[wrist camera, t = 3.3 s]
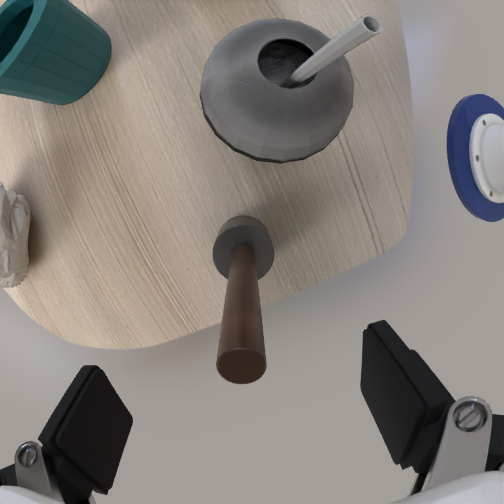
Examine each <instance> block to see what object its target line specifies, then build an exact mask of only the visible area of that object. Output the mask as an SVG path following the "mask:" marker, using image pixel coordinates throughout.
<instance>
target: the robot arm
mask: <svg viewBox="0 0 504 504" xmlns="http://www.w3.org/2000/svg"><path fill="white" fill-rule="evenodd" d="M469 156H470V164H471V170H472V173H473V177H474V180H475V182H476V185H477V187H478V189H479V190H480V192H481V193H482V194H483V196H484V197H485V198H486V199H488V200H489V201H492V202H496V203H503V202H504V120H503V119H502V118H500V117H499V116H497V115H495V114H483V115H481V116H479V117H478V118H477V120H476V121H475V122H474V125H473V127H472V130H471V134H470V141H469ZM360 386H361V391H362V394H363V396H364V399H365V401H366V403H367V405H368V407H369V409H370V411H371V413H372V415H373V418H374V419H375V422H376V424H377V426H378V428H379V431H380V433H381V435H382V437H383V439H384V442H385V444H386V446H387V448H388V450H389V453H390V455H391V457H392V459H393V462H394V463H395V464H396V465H397V464H400V465H401V467H402V469H405V468H408V467H410V466H412V467H413V469H414V471H415V472H416V473H417V475H416V477H415V480H414V482H413V485H412V487H411V490H410V492H409V494H408V496H407V498H404V499H401V500H399V501H396V502H393V503H391V504H504V415H496V414H492V410H491V408H490V406H489V404H488V403H486V401H485V400H483V399H481V398H478V397H474V396H470V397H464V398H461V399H459V400H458V401H455V400H454V399H453V397H452V396H451V394H450V393H449V392H448V390H447V389H446V388H445V387H444V385H443V384H442V383H441V382H440V380H439V379H438V378H437V377H436V375H435V374H434V373H433V372H432V370H431V369H430V368H429V366H428V365H427V364H426V363H425V361H424V360H423V359H422V358H421V357H420V355H419V354H418V353H417V352H416V351H415V350H410V349H409V348H408V347H407V346H406V345H405V343H404V342H403V341H402V340H401V338H400V337H399V336H398V335H397V334H396V332H395V331H394V330H393V329H392V328H391V326H390V325H389V324H388V323H387V322H386V321H385V320H382V321H378V322H375V323H371V324H369V325H368V327H367V329H366V330H364V331H363V348H362V369H361V385H360ZM132 423H133V418H132V416H131V414H130V412H129V411H128V410H127V408H126V407H125V405H124V403H123V402H122V400H121V399H120V397H119V396H118V394H117V393H116V391H115V389H114V388H113V386H112V385H111V383H110V381H109V380H108V378H107V376H106V374H105V373H104V371H103V370H102V369H100V368H99V367H98V366H96V365H85V366H83V367H82V368H81V369H80V371H79V373H78V374H77V375H76V377H75V378H74V380H73V382H72V383H71V385H70V386H69V388H68V389H67V391H66V392H65V394H64V396H63V397H62V399H61V401H60V402H59V404H58V405H57V407H56V409H55V410H54V412H53V413H52V415H51V417H50V419H49V420H48V422H47V424H46V425H45V427H44V429H43V431H42V433H41V434H40V436H39V438H38V440H39V441H40V442H41V443H42V444H43V446H42V447H41V446H40V445H39V444H38V443H36V442H33V441H29V442H26V443H24V444H22V445H21V446H20V447H19V448H18V449H17V451H16V454H15V463H14V464H12V465H10V466H8V467H5V468H3V469H1V470H0V504H96V502H95V500H94V498H93V496H92V494H91V493H92V490H94V491H95V492H97V493H100V494H105V495H107V494H108V490H109V489H111V488H112V485H113V482H114V478H115V476H116V472H117V469H118V466H119V463H120V459H121V456H122V453H123V450H124V447H125V444H126V441H127V438H128V435H129V433H130V430H131V427H132Z"/></svg>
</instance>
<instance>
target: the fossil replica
mask: <svg viewBox="0 0 504 504" xmlns="http://www.w3.org/2000/svg"><path fill="white" fill-rule="evenodd" d="M29 224H30V208H29V205H28V202H27V200H26V199H25V197H23V196H22V195H16V193H15V192H13V191H11V190H10V191H7V190H6V191H5V188H4V186H3V184H2V182H0V286H1V287H2V288H4V287H6V288H9V287H12V288H13V287H14V286H16V287H17V285H18V284H20V282H22V281H24V278H25V277H26V274H27V273H28V262H29V256H28V244H27V243H28V236H29V233H28V232H29V231H28V230H29Z"/></svg>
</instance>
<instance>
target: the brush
mask: <svg viewBox="0 0 504 504" xmlns="http://www.w3.org/2000/svg"><path fill="white" fill-rule="evenodd" d="M273 260H274V248H273V245H272V242H271V239H270V236H269V233H268V231H267V229H266V227H265V226H264V225H263V224H262V223H261V222H260V221H259V220H257V219H255V218H253V217H249V216H238V217H235V218H232V219H230V220H229V221H227V222H226V223H225V224H224V225H223V226H222V228H221V229H220V231H219V234H218V236H217V239H216V241H215V244H214V247H213V261H214V264H215V266H216V268H217V270H218V271H219V272H220V274H221V275H223V276H224V277H225V278H227V279H228V283H227V290H226V297H225V304H224V311H223V318H222V326H221V333H220V341H219V348H218V355H217V363H216V366H217V370H218V372H219V374H220V375H221V376H222V377H223V378H224V379H225V380H227V381H229V382H232V383H236V384H248V383H252V382H254V381H256V380H258V379H259V378H261V377H262V375H263V374H264V372H265V370H266V355H265V346H264V336H263V326H262V318H261V307H260V298H259V288H258V280H259V279H260V278H262V277H263V276H264V275H265V274H266V273H267V272H268V271H269V269H270V268H271V266H272V263H273Z"/></svg>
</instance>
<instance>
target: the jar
mask: <svg viewBox="0 0 504 504" xmlns="http://www.w3.org/2000/svg"><path fill="white" fill-rule="evenodd" d="M110 54H111V41H110V38H109V36H108V34H107V33H106V32H105V31H104V30H103V29H102V28H101V27H100V26H99V25H98V24H96V23H95V22H94V21H93V20H92V19H90V18H89V17H88V16H87V15H85V14H84V13H83V12H82V11H80V10H79V9H78V8H77V7H75V6H74V5H73V4H72V3H70V2H69V1H68V0H7V1H6V2H5V3H4V4H3V5H2V6H1V7H0V94H6V95H12V96H17V97H22V98H28V99H33V100H37V101H42V102H47V103H51V104H57V105H65V104H69V103H72V102H74V101H76V100H78V99H79V98H81V97H82V96H84V95H85V94H86V93H87V92H88V91H90V90H91V88H92V87H93V86H94V85H95V84H96V83H97V82H98V80H99V79H100V77H101V76H102V74H103V73H104V71H105V69H106V67H107V64H108V62H109V58H110Z"/></svg>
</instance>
